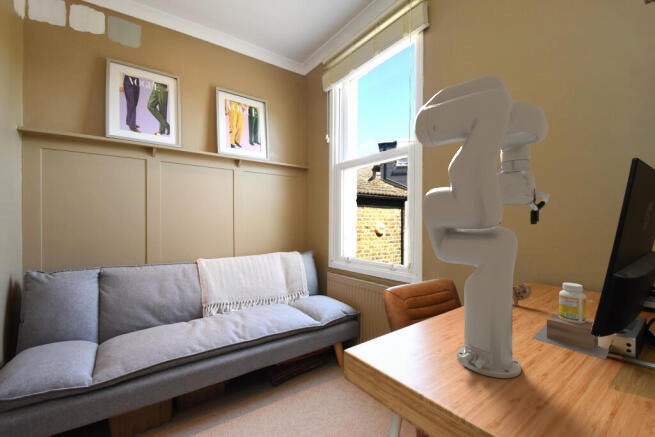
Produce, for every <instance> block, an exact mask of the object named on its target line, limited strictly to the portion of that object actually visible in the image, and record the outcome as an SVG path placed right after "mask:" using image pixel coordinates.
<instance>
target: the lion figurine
mask: <svg viewBox="0 0 655 437" xmlns="http://www.w3.org/2000/svg"><path fill="white" fill-rule="evenodd" d="M531 295H532V286H531V285H530V284H528V283H520V284H518V285H514V286H513V303H514V304H513V305H514V306H515V307H518V306H519V307H521V306H520V304H519V301H524V300H526V299H528V298H530V297H531Z"/></svg>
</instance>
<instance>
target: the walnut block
mask: <svg viewBox="0 0 655 437" xmlns="http://www.w3.org/2000/svg"><path fill="white" fill-rule="evenodd" d="M594 320H595V319H591V318H586V321H585V323H571V322H567V321H564V320H562V319H560V317H559V311H554V312H553V313H552V314H551V315H550V316H549V317H547V318H546V324H547V338H550V339H554V340H557V341H561V342H565V343H568V344H572V345H576V346H579V347H583V348H586V349H590V350H593V349H594V347H595V345H596V343H597V342H598V337H596V336H594V335H592V334H591V328H592V324H593V322H594Z"/></svg>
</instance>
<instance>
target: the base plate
mask: <svg viewBox="0 0 655 437" xmlns="http://www.w3.org/2000/svg"><path fill="white" fill-rule="evenodd" d="M531 339H533V340H537V341H540V342H544V343H547V344H550V345H553V346H557V347H561V348H564V349H568V350H572V351H574V352H578V353H581V354H586V355H589V356H592V357H596V358H599V359H603V360H606V359H607V357H608V354H609V351H610V350H608V349H604V348H602V347H600V346H598V342H597V343H596V345H595V347H594V349H593V350H590V349H586V348H583V347H579V346H576V345H572V344H568V343H565V342H561V341H557V340H554V339H550V338H547V323H545V325H544V326H543V327H542V328H541V329H539V331H538V332H536V333H535V334H534V335H533V336H532V337H531Z"/></svg>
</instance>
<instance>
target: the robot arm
mask: <svg viewBox="0 0 655 437" xmlns="http://www.w3.org/2000/svg"><path fill="white" fill-rule="evenodd" d="M548 123H549V122H548V119H547V117H546V113H545V111H544V109H543V108H542V107H541V106H539V105H538V104H535V103H532V102H526V101H520V100H514V99H513V98H512V96H511V93H510V91H509V90H508V88H507V86H506V84H505V82H504V81H503V80H502V78H500V77H499V76H498V75H497V76H496V75H493V74H485V75H481V76H478V77H474V78H472V79H469V80H466V81H462V82H460V83H456V84H452V85H450V86H447V87H444V88H443V89H441V90H440V91H438V92H437V93H436V94H435V95H433V96H432V98H430V99H429V100H428V101H427V102H426V103H425V104H424V105H423V106H422V107H421V108H420V109H419V111H418V113H417V115H416V116H415V119H414V127H413V128H414V134H415V137H416V139H417V141H418V142H419V143H420V145H423V146H424V147H429V148H433V147H439V146H444V145H450V144H455V143H461V142H463V143H462V144H463V145H461V147H460V148H459V150H458V151H457V152H456V154H455V155H454V157H453V158H452V160H451V162H450V164H449V166H448V169H447V170H448V171H447V174H448V179H449V182H450V183H449V184H450V186H445V187H444V186H443V187H442V186H441V187H436V188H433V189H430V190H429V191H428V192H427V193H426V194H425V195H424V197H423V201H422V208H421V210H422V218H423V222H424V225H425V229H426V231H427V233H428V237H429V240H430V243H431V247H432V250H433V252H434V255H435V256H436V257H437V259H438V260H440V261H441V262H444V263H450V264H458V265H459V264H460V265H464V266H465V265H467V266H472V267H476V269H475V270H474V272H473V273H472V274H470V275H469V276H468V277H467V279H466V280H465V282H464V291H463V292H464V293H463V294H464V297H463V298H464V299H463V300H464V305H463V306H464V308H463V309H464V311H463V312H464V313H463V314H464V316H463V317H464V318H463V319H464V320H463V321H464V323H463V324H464V326H463V329H464V331H463V332H464V338H463V340H464V341H463V342H464V344H463V346H460V347H459V348H458V349H457V352H456V358H457V359H458V362H459V364H460V365H461V366H462V367H466V368H467V369H469V370H470V371H472V372H473V371H474V372H475V373H478V374H480V375H483V376H487V377H491V378H498V379H510V378H511V379H512V378H515V377H517V376H519V375H520V374H521V372H522V364H521V363H520V361H519V360H518V359H517V358H515V357H514V356H513V319H514V318H513V314H514V312H513V305H514V304H513V303H514V300H513V287H514V286H513V285H514V283H513V282H514V272H515V264H516V259H517V256H518V255H517V254H518V247H519V242H518V241H519V240H518V237H517V235H516V233H515V232H514V231H513V230H512V229H510V228H507V227H505V226H500V224H501V222H502V220H503V216H504V206H518V205H519V206H522V205H523V206H529V207H530V209H531V210H530V212H529V213H530V219H529V220H530V225H538V222H539V220H540V211H541V210H542V208H544V207H545V206H546V205H547V203H548V202H549V201H550V199H551V196H552V195H551V194H549V193H546V192H543V191H541V190H538V189H537V188H536V186H537V185H536V181H535V175H534V171H533V170H531V145H534V144H539V143H541V142H543V141H544V140H545V139H546V137H547V136H548V132H549V124H548ZM499 155H500V163H499V165H498V158H499ZM497 165H498V166H497ZM498 172H500V173H498ZM537 196H538V197H540V198H541V200H540V202H538V203H536V202H537Z"/></svg>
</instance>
